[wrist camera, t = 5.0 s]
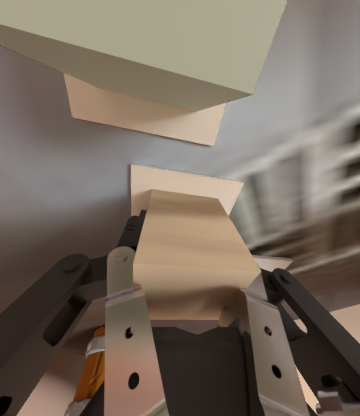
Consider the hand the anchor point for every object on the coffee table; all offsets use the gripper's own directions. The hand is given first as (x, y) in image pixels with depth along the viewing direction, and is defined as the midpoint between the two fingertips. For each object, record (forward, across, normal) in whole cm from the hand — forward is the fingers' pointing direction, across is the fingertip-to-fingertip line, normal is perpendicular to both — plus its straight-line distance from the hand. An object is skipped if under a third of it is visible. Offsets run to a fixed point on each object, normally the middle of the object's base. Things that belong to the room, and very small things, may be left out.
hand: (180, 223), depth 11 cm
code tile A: (+1, 0, 0) cm, 1 cm away
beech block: (0, 0, 0) cm, 0 cm away
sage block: (0, +3, -10) cm, 10 cm away
